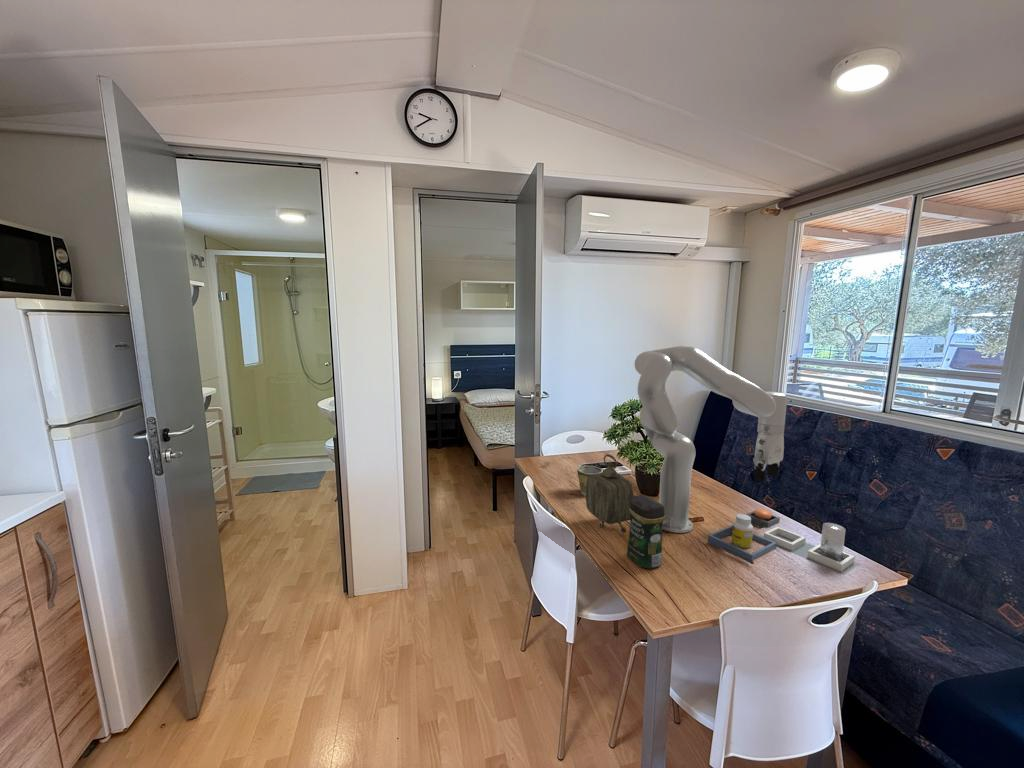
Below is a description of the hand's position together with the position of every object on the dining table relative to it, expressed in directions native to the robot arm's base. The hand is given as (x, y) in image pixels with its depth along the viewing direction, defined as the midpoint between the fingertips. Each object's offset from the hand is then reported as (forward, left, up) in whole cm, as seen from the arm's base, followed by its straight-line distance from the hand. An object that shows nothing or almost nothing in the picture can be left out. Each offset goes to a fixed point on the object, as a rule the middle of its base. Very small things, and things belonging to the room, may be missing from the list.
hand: (766, 478), depth 136 cm
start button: (0, 0, -13) cm, 13 cm away
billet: (-9, -23, -15) cm, 29 cm away
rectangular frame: (-22, -5, -16) cm, 28 cm away
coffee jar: (-54, +5, -16) cm, 57 cm away
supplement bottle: (-22, -5, -16) cm, 28 cm away
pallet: (-9, -17, -16) cm, 25 cm away
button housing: (0, 0, -16) cm, 16 cm away
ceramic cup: (-33, +50, -16) cm, 62 cm away
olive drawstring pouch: (-49, +25, -16) cm, 57 cm away
